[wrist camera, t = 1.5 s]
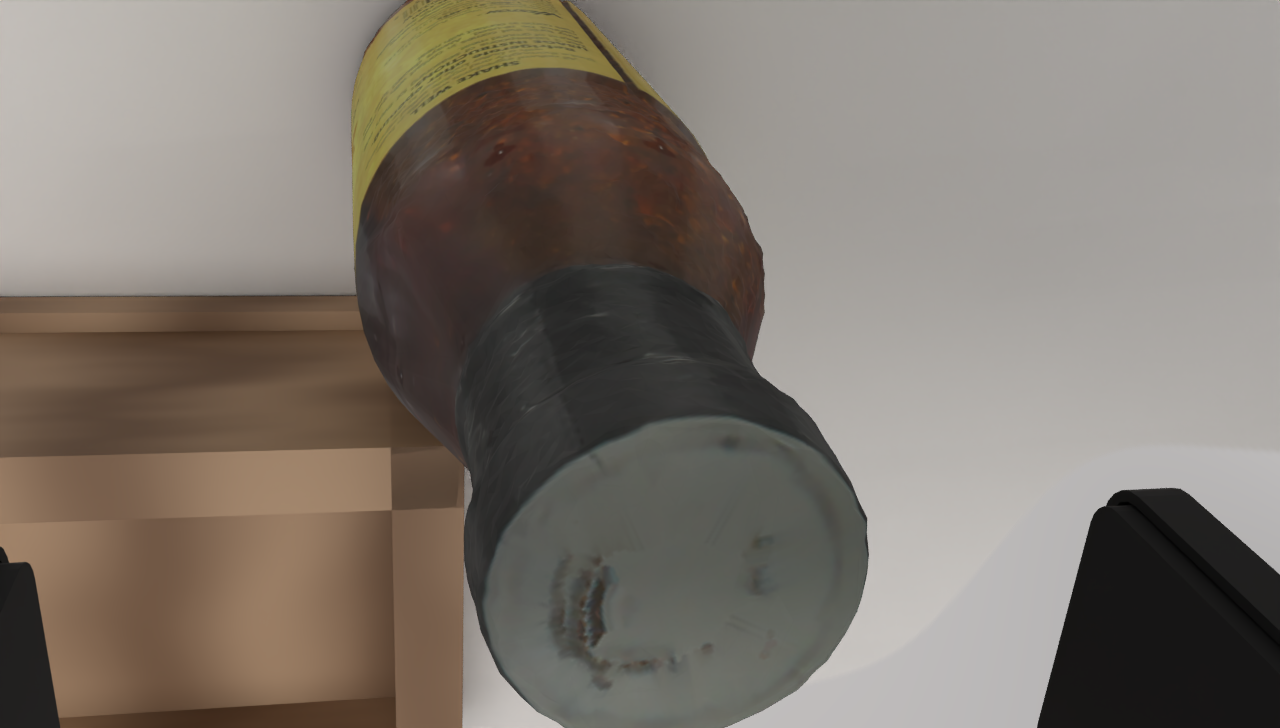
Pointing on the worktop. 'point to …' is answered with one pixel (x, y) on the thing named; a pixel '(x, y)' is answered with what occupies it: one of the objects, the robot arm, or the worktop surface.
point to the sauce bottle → (593, 372)
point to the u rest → (228, 515)
